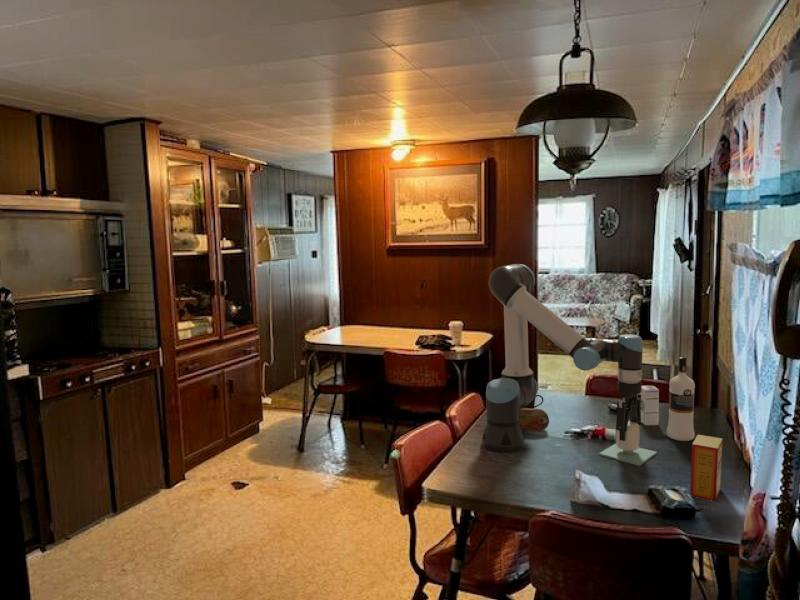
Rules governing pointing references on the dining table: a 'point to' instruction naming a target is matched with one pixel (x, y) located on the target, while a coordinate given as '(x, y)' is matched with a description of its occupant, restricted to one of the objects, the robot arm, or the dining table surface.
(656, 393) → the syrup box
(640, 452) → the base
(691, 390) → the vodka
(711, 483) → the baking soda box
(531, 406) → the coffee mug
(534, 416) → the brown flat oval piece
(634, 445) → the cap
